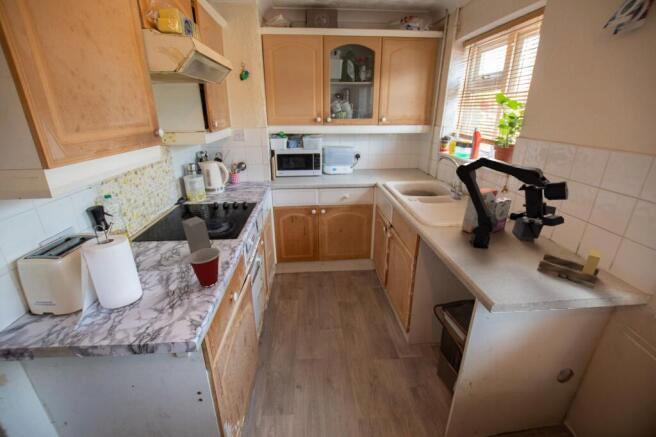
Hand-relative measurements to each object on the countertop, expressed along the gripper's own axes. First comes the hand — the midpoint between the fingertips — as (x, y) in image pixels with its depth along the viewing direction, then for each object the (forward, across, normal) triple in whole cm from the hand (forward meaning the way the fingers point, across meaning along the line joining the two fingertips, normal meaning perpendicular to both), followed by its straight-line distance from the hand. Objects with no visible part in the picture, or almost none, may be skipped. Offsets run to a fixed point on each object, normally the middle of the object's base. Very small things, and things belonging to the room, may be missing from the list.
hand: (536, 238), depth 117 cm
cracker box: (+2, +34, 0) cm, 34 cm away
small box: (+8, +21, -16) cm, 28 cm away
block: (+13, -13, -7) cm, 20 cm away
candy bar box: (+4, +32, -8) cm, 33 cm away
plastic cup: (-11, +18, +127) cm, 128 cm away
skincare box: (-18, +41, +132) cm, 139 cm away
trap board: (+14, -8, -4) cm, 16 cm away
